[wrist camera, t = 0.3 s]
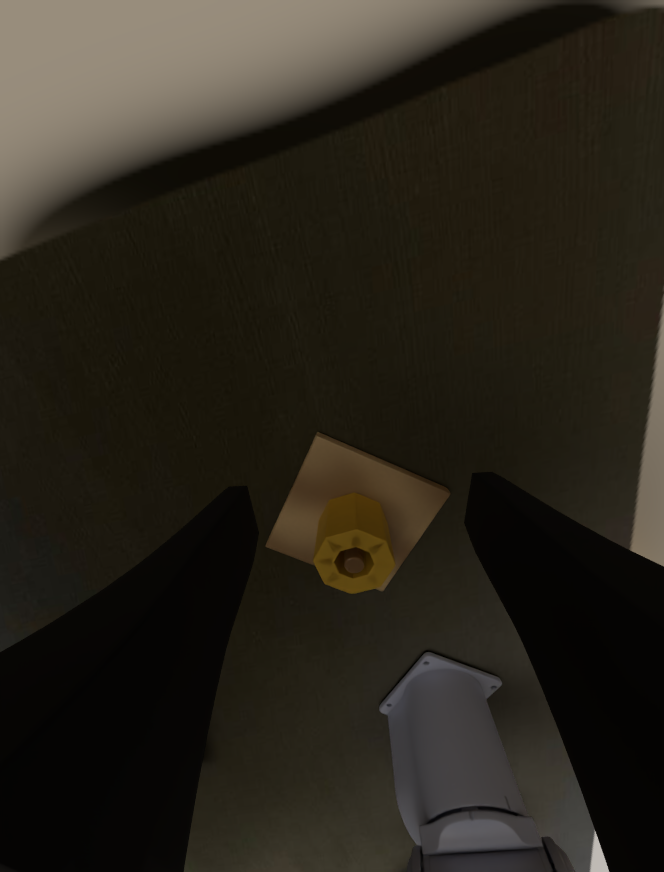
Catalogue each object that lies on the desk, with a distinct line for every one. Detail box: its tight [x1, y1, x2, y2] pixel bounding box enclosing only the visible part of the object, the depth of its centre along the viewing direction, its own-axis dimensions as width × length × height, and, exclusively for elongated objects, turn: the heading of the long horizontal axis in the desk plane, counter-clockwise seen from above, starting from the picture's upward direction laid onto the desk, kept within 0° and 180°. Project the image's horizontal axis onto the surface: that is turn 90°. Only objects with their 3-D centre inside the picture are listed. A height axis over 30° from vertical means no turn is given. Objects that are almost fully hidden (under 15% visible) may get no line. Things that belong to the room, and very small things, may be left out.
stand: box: [266, 432, 451, 591], centre depth 20 cm, size 10×10×5 cm
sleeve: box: [313, 492, 396, 594], centre depth 20 cm, size 5×5×4 cm
